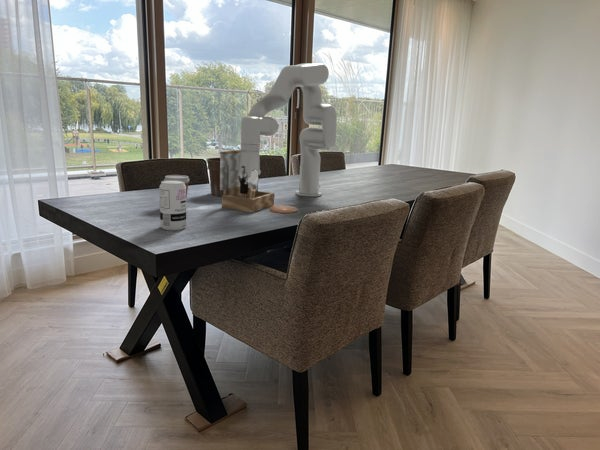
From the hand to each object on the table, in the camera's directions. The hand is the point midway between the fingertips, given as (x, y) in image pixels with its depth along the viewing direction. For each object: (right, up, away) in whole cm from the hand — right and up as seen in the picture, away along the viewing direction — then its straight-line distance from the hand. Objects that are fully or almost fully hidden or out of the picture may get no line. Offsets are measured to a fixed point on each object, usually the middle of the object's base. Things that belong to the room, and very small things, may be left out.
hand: (249, 192), depth 183 cm
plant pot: (-14, 0, +23) cm, 27 cm away
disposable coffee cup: (-27, -7, -7) cm, 29 cm away
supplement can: (-20, -15, -37) cm, 44 cm away
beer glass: (0, -6, +1) cm, 6 cm away
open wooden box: (0, -6, +1) cm, 6 cm away
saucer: (+14, -8, -3) cm, 16 cm away
